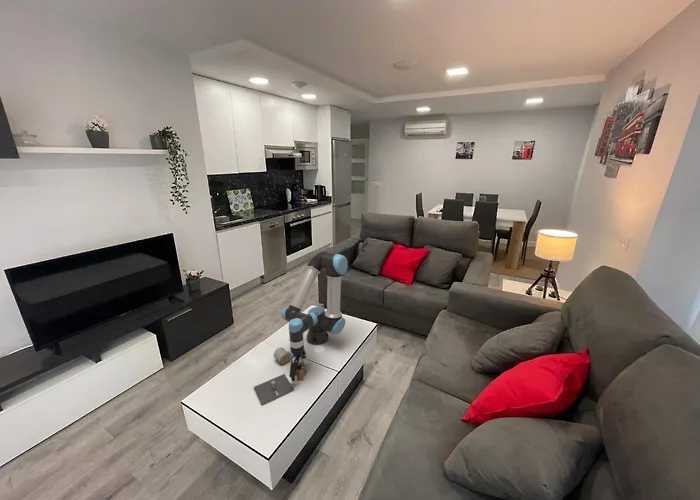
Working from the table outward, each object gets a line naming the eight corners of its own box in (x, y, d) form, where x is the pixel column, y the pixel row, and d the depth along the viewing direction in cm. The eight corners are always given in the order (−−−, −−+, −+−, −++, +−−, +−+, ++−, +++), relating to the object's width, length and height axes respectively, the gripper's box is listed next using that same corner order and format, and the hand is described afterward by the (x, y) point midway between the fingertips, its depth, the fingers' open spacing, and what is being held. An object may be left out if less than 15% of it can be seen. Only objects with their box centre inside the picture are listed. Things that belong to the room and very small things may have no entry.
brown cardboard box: (295, 370, 174) (294, 361, 172) (306, 372, 172) (306, 363, 170) (291, 378, 167) (290, 370, 165) (302, 380, 166) (302, 371, 164)
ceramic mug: (280, 367, 177) (279, 356, 174) (273, 360, 182) (273, 350, 180) (295, 359, 184) (294, 349, 181) (288, 353, 189) (287, 343, 187)
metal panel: (284, 375, 170) (283, 368, 168) (294, 390, 159) (293, 383, 157) (253, 388, 160) (252, 381, 159) (261, 405, 149) (260, 398, 148)
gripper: (298, 331, 175) (300, 360, 182) (281, 358, 152) (284, 390, 158) (310, 333, 174) (311, 362, 181) (295, 360, 151) (297, 392, 157)
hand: (298, 375), depth 170 cm, fingers open, 13 cm apart
